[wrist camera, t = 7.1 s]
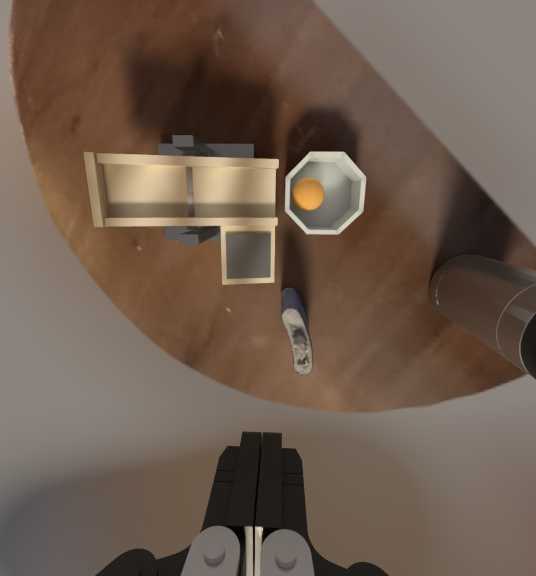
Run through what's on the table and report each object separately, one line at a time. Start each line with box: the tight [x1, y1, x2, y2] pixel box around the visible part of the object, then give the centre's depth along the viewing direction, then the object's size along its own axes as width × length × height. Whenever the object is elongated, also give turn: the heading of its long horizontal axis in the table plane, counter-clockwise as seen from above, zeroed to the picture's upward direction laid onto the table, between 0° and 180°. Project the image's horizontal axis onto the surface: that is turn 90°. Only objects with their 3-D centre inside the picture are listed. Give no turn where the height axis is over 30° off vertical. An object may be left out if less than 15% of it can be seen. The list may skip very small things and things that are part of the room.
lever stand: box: [158, 135, 255, 244], centre depth 36 cm, size 12×12×11 cm
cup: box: [284, 152, 366, 234], centre depth 38 cm, size 9×9×6 cm
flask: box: [281, 288, 313, 375], centre depth 40 cm, size 9×3×11 cm, turn 14°
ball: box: [292, 178, 324, 211], centre depth 38 cm, size 4×4×4 cm
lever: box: [84, 152, 279, 284], centre depth 32 cm, size 18×14×3 cm
